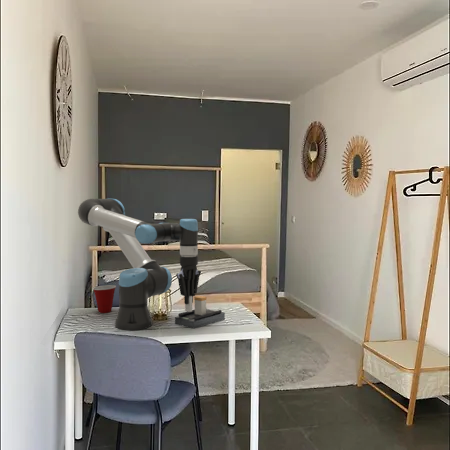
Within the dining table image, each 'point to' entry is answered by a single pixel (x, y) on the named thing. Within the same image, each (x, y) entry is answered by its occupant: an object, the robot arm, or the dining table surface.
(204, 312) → the switch knob
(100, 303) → the plastic cup
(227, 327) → the dining table surface
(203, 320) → the switch panel
